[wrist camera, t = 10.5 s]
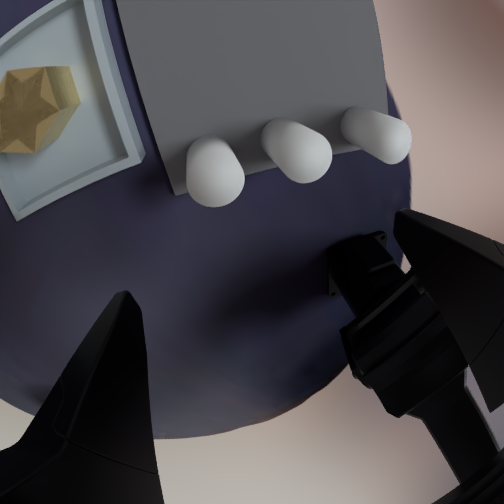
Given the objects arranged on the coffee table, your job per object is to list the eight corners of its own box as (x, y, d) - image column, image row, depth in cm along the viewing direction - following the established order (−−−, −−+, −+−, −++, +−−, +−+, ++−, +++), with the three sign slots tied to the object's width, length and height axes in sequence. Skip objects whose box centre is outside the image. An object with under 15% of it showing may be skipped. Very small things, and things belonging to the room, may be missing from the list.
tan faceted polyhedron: (87, 121, 14) (67, 133, 11) (33, 154, 14) (8, 172, 11) (64, 48, 10) (39, 45, 8) (9, 87, 10) (-19, 94, 7)
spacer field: (385, 143, 20) (425, 164, 16) (175, 193, 19) (173, 229, 15) (346, -73, 7) (381, -92, 3) (107, -50, 7) (87, -78, 3)
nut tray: (145, 153, 17) (141, 162, 15) (27, 208, 16) (17, 221, 15) (99, -12, 9) (89, -19, 7) (-22, 70, 8) (-37, 73, 7)
